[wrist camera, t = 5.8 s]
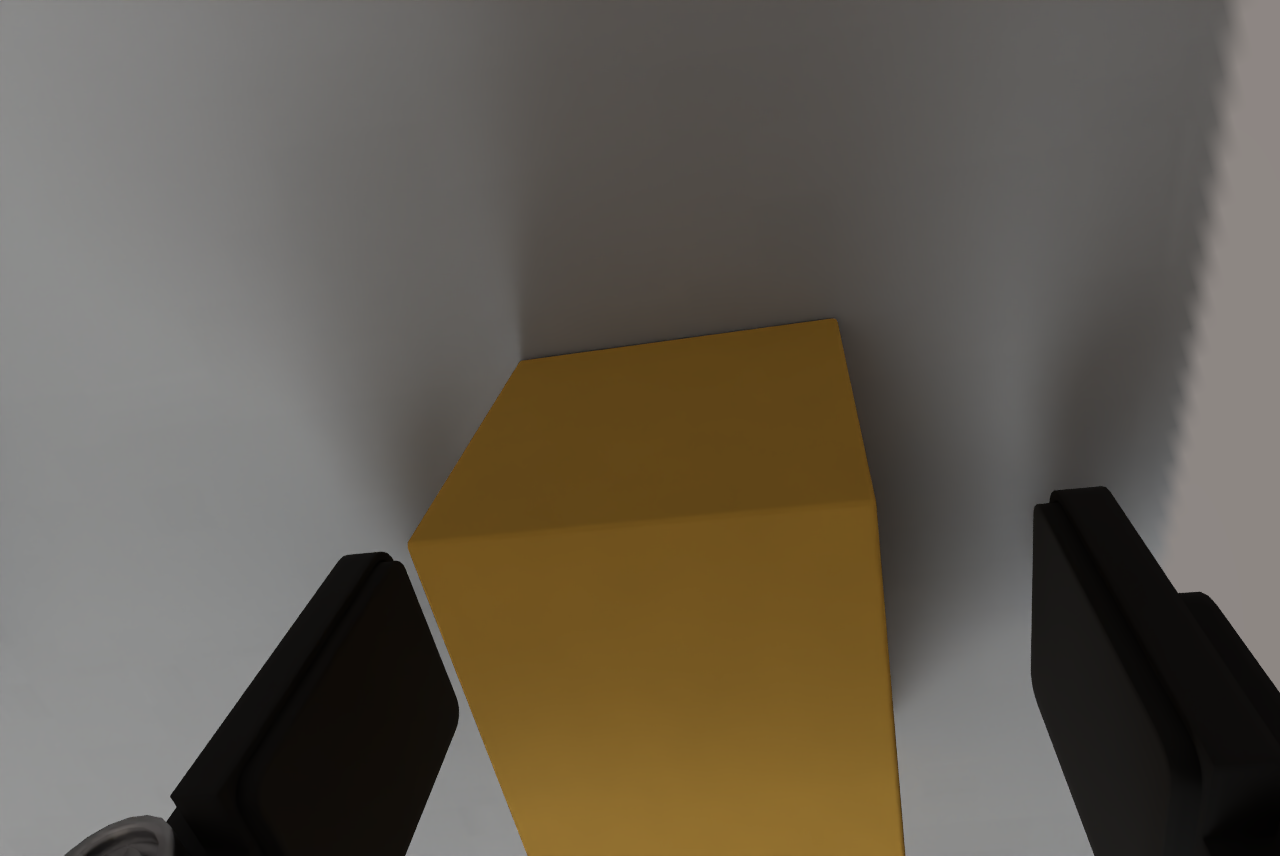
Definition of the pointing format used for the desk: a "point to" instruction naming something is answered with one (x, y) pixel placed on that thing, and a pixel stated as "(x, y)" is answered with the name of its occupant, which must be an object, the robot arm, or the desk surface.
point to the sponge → (674, 601)
